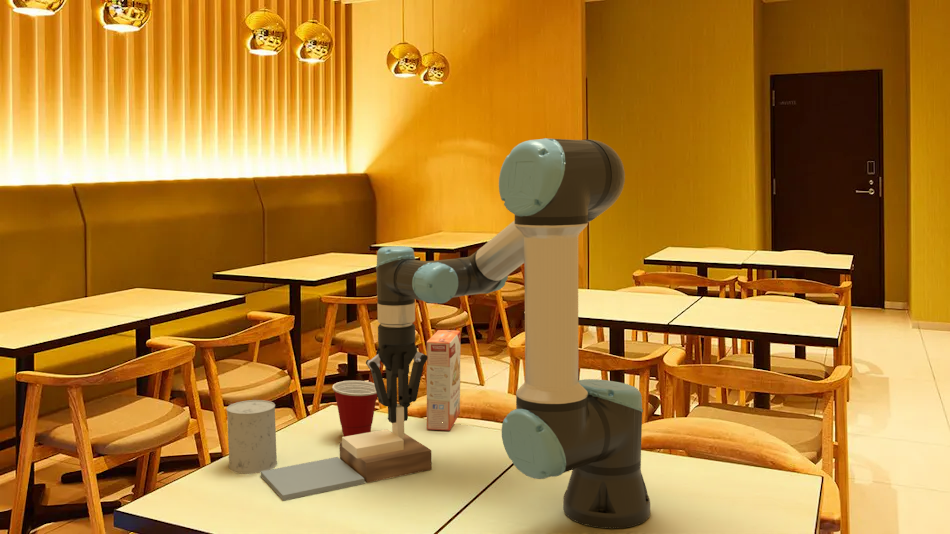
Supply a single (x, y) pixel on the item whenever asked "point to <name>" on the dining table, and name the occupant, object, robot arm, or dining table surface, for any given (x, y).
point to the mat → (311, 478)
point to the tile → (372, 443)
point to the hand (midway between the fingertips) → (398, 436)
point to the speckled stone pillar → (251, 436)
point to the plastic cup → (355, 406)
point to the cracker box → (443, 379)
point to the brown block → (390, 461)
